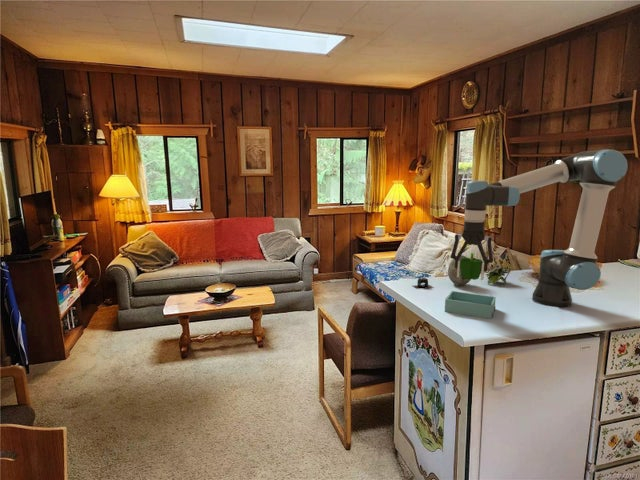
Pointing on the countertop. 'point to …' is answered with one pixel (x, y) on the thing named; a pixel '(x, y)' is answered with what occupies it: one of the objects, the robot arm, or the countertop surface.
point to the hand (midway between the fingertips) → (470, 277)
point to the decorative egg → (453, 273)
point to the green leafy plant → (497, 274)
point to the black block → (421, 281)
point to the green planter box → (470, 304)
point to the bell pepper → (470, 267)
